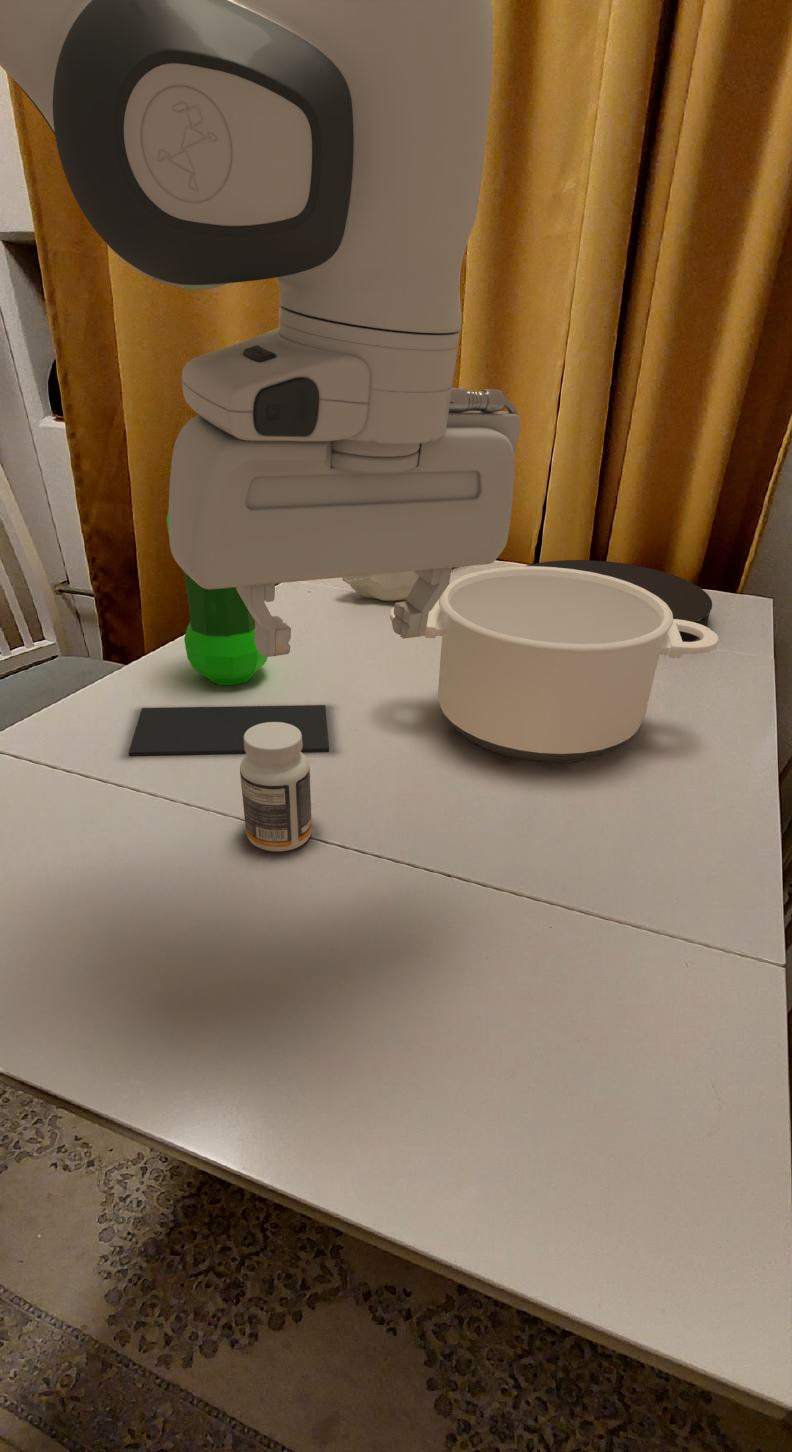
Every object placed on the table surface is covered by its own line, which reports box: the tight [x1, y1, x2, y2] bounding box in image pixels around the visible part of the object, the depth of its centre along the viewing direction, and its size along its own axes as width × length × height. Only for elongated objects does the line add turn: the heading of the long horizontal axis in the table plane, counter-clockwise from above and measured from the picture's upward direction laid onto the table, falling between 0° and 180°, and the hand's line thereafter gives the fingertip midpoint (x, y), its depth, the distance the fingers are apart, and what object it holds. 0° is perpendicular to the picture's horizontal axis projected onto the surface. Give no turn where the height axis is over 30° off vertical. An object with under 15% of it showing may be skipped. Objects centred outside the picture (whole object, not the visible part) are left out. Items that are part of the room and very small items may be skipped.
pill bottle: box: [239, 722, 313, 852], centre depth 70 cm, size 6×6×10 cm
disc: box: [526, 559, 713, 642], centre depth 121 cm, size 30×30×3 cm
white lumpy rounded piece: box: [341, 571, 419, 602], centre depth 121 cm, size 9×11×15 cm
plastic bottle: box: [165, 510, 269, 686], centre depth 92 cm, size 10×10×25 cm
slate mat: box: [128, 704, 330, 757], centre depth 88 cm, size 20×10×1 cm, turn 96°
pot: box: [389, 565, 719, 763], centre depth 88 cm, size 33×23×14 cm
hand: (343, 642), depth 51 cm, fingers open, 8 cm apart
